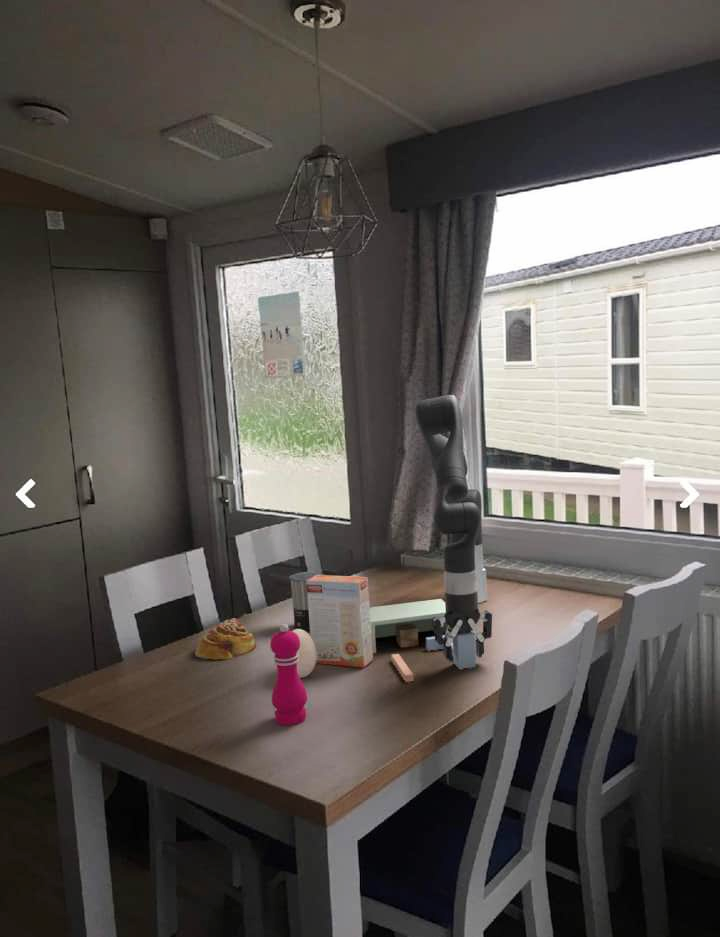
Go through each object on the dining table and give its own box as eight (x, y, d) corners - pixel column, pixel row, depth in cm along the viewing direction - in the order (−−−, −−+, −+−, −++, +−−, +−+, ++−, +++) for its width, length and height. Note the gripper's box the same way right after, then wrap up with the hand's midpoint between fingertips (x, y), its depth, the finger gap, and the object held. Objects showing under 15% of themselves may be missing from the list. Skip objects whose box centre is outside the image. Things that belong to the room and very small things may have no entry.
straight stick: (399, 661, 192) (398, 653, 192) (413, 683, 179) (413, 674, 179) (391, 662, 192) (391, 654, 192) (405, 684, 178) (405, 675, 178)
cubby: (442, 627, 214) (441, 598, 213) (456, 641, 203) (455, 611, 202) (362, 638, 210) (360, 608, 209) (372, 653, 198) (370, 622, 197)
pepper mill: (273, 713, 167) (266, 620, 164) (308, 709, 167) (301, 617, 165) (272, 728, 160) (265, 631, 157) (309, 724, 160) (301, 627, 158)
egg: (276, 680, 185) (273, 632, 183) (298, 668, 191) (294, 622, 190) (303, 685, 180) (300, 637, 179) (325, 673, 187) (321, 626, 185)
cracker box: (374, 660, 193) (368, 575, 191) (363, 669, 188) (358, 582, 186) (323, 654, 199) (317, 573, 197) (311, 663, 194) (305, 579, 192)
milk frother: (287, 631, 220) (283, 578, 218) (312, 614, 234) (308, 564, 232) (334, 635, 214) (330, 581, 212) (357, 617, 229) (353, 566, 227)
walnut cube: (413, 640, 206) (412, 623, 206) (418, 645, 202) (417, 628, 201) (396, 642, 205) (395, 625, 205) (401, 648, 201) (400, 630, 200)
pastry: (265, 647, 209) (262, 617, 208) (219, 665, 198) (216, 633, 197) (232, 638, 218) (230, 609, 217) (187, 655, 206) (184, 625, 206)
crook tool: (475, 667, 185) (474, 633, 184) (446, 671, 183) (444, 637, 182) (454, 645, 200) (452, 614, 199) (426, 649, 199) (424, 618, 198)
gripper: (484, 581, 189) (487, 649, 191) (426, 588, 186) (430, 657, 188) (496, 589, 182) (499, 659, 184) (435, 596, 179) (439, 668, 181)
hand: (464, 658), depth 186 cm, fingers open, 6 cm apart
